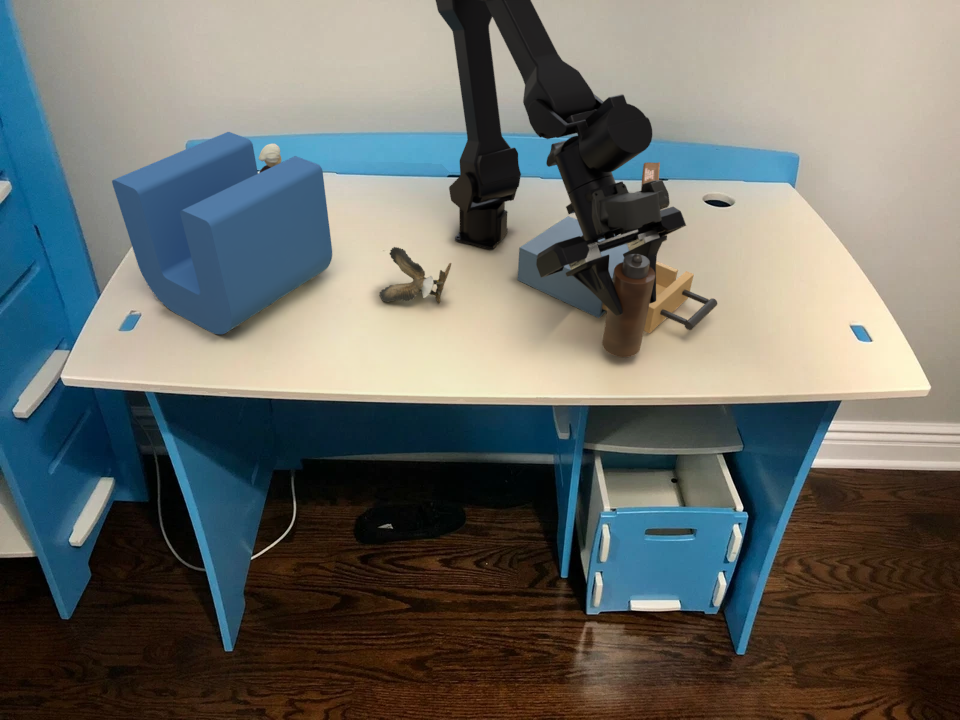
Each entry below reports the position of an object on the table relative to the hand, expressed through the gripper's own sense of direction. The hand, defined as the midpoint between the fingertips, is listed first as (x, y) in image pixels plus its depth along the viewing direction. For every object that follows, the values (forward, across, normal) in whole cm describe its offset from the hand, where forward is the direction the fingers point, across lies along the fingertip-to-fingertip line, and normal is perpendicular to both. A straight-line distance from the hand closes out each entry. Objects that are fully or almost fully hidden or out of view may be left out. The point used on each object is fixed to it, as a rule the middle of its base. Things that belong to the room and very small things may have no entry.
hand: (636, 308), depth 91 cm
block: (-21, -37, +34) cm, 54 cm away
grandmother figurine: (-33, -25, +46) cm, 62 cm away
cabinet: (-6, +6, +18) cm, 20 cm away
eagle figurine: (-12, -17, +24) cm, 32 cm away
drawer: (0, +9, +11) cm, 15 cm away
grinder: (+4, 0, +6) cm, 7 cm away
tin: (-12, +26, +25) cm, 38 cm away
